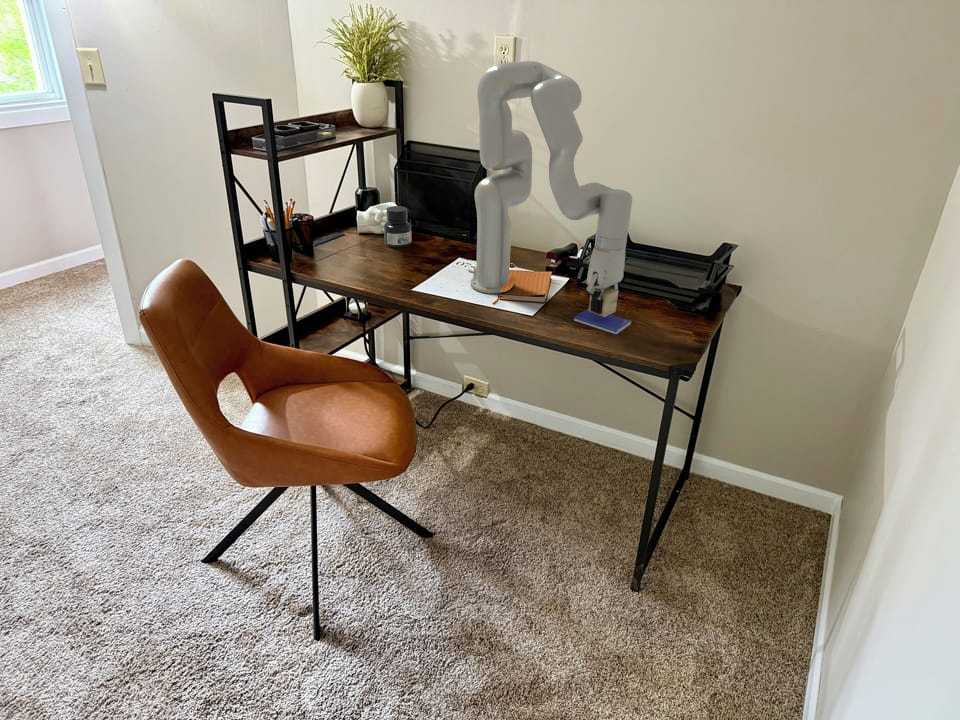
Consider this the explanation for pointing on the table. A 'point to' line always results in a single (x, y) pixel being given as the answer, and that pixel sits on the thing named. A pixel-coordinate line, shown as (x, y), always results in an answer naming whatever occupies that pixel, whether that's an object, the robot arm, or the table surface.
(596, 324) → the hard drive
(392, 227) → the ink bottle
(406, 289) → the table surface
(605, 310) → the beech block
